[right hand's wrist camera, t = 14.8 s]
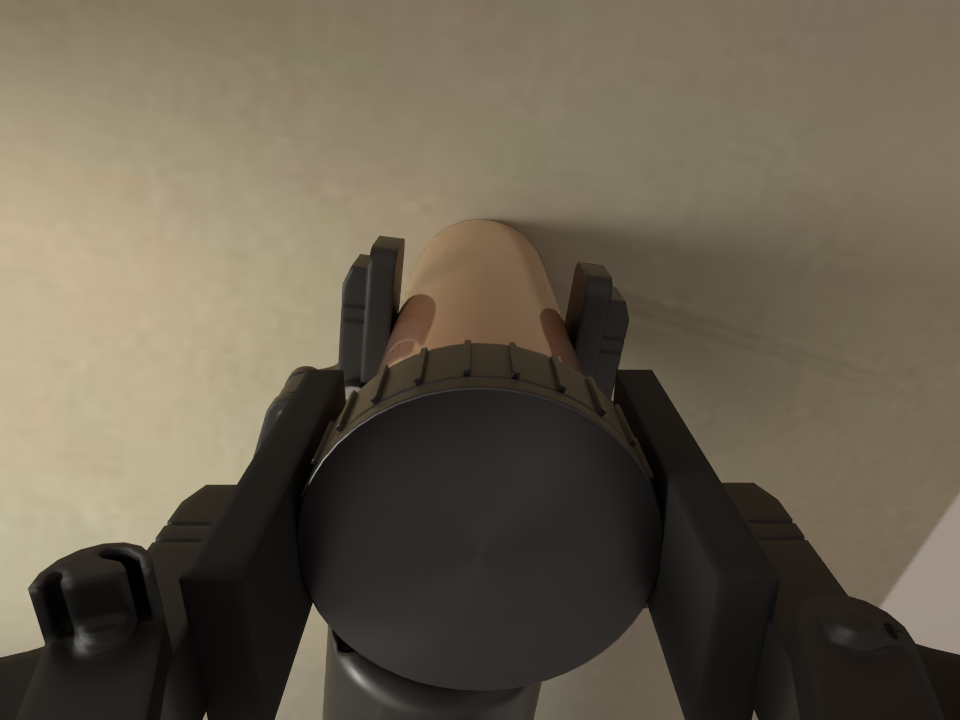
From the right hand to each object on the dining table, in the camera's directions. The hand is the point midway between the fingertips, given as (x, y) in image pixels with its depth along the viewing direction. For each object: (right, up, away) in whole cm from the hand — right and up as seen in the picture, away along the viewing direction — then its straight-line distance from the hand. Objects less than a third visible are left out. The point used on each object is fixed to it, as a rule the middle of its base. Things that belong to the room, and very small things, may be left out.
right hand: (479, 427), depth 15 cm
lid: (0, -1, -4) cm, 4 cm away
